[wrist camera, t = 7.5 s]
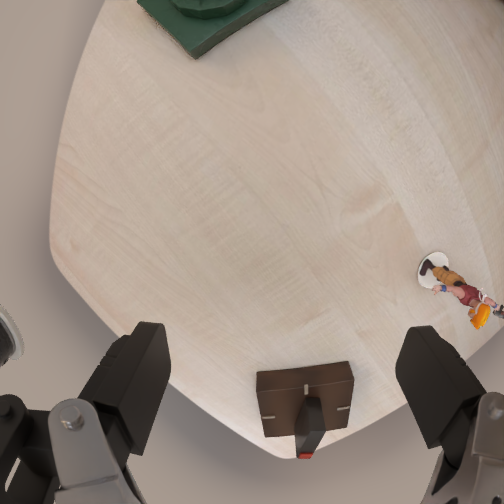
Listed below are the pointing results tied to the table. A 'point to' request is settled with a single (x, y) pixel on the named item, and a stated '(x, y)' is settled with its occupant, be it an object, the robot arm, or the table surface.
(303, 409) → the knob
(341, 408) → the panel
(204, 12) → the button box
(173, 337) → the table surface
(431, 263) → the action figure
